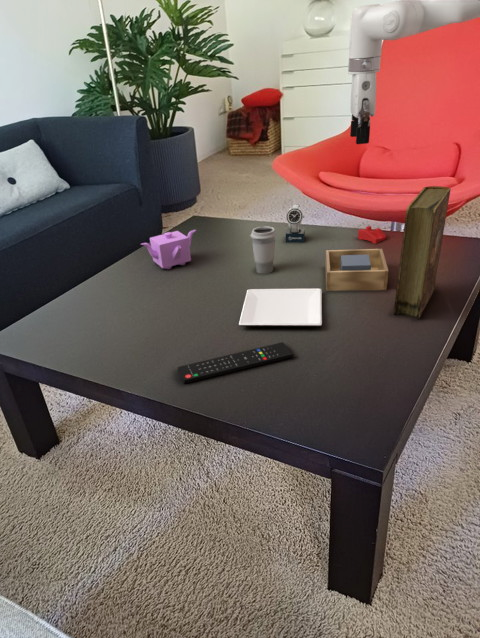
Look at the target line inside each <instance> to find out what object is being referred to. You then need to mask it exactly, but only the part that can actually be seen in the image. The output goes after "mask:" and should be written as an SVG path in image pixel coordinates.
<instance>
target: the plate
mask: <svg viewBox="0 0 480 638" xmlns="http://www.w3.org/2000/svg"><path fill="white" fill-rule="evenodd" d="M322 290H323V289H322V288H249V289H247V290H246V294H245V298H244V301H243V306H242V310H241V314H240V318H239V322H238V325H239V326H240V327H321V326H322V324H323V314H322V313H323V311H322V309H323V308H322V307H323V306H322V305H323V304H322V303H323V301H322V300H323V299H322V298H323V296H322V293H323V292H322Z"/></svg>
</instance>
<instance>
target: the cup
mask: <svg viewBox="0 0 480 638" xmlns="http://www.w3.org/2000/svg"><path fill="white" fill-rule="evenodd" d="M249 237H250V238H252V240H251V243H252V252H253V260H254V262H255V263H254V264H255V271H256V273H258V274H260V275H261V274H262V275H266V274H271V273H272V272H273V271H274V260H275V249H276V239H275V237H277V231H276V230H275V228H274V227H272V226H268V225H262V226H261V225H260V226H257V227H255V228H253V229H252V230H251V233H250V235H249Z"/></svg>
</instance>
